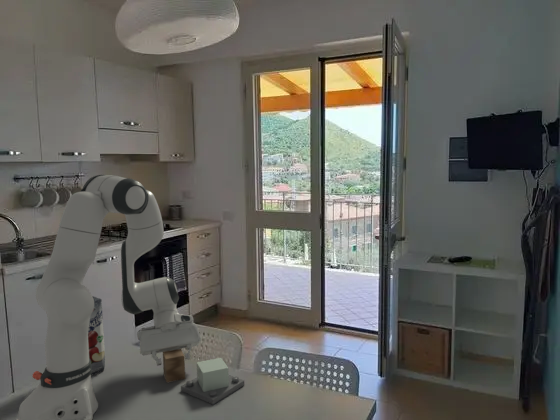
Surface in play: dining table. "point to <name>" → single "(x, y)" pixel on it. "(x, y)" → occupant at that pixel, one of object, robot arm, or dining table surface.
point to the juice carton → (96, 338)
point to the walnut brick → (173, 365)
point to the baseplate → (212, 393)
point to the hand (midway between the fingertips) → (173, 362)
